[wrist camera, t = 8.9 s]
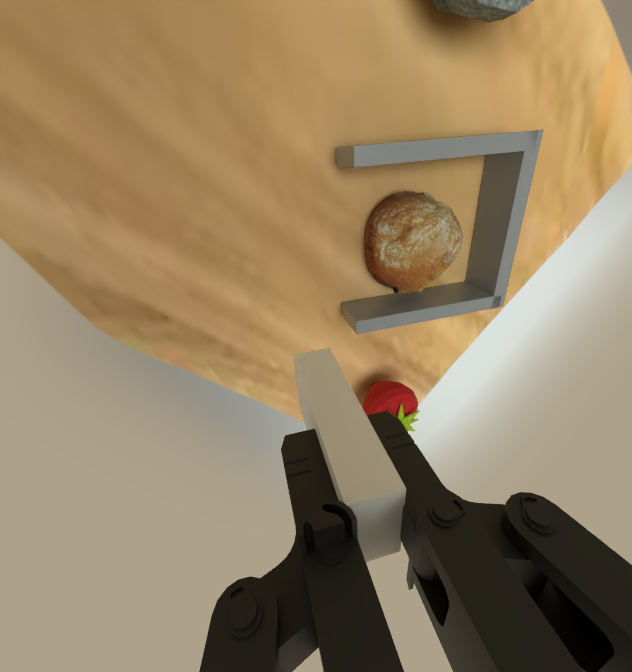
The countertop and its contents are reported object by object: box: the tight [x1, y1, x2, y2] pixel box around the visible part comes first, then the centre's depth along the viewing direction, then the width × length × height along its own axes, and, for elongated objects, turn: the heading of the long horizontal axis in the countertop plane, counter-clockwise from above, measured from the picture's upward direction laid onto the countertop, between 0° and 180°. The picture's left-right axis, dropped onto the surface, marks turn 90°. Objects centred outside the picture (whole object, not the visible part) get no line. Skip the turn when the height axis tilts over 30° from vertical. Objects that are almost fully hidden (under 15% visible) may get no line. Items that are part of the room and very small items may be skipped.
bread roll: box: [365, 191, 463, 294], centre depth 34 cm, size 10×10×8 cm
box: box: [336, 130, 543, 334], centre depth 34 cm, size 17×18×5 cm
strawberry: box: [363, 381, 419, 431], centre depth 41 cm, size 6×8×10 cm
